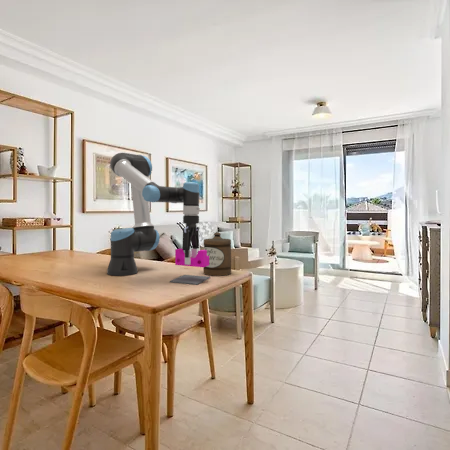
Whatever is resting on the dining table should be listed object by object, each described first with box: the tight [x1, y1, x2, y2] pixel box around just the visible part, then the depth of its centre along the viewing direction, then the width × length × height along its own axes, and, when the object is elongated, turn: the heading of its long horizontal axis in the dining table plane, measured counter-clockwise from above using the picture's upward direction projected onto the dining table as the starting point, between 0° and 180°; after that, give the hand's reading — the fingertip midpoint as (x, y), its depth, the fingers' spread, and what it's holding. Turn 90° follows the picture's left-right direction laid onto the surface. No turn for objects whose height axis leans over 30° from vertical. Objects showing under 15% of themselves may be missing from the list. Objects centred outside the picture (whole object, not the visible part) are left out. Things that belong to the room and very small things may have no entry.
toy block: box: [174, 248, 209, 268], centre depth 155 cm, size 15×6×8 cm, turn 66°
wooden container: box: [202, 231, 232, 277], centre depth 174 cm, size 15×15×22 cm
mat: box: [169, 274, 211, 286], centre depth 156 cm, size 14×16×1 cm
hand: (190, 263), depth 156 cm, fingers closed on toy block, 7 cm apart
